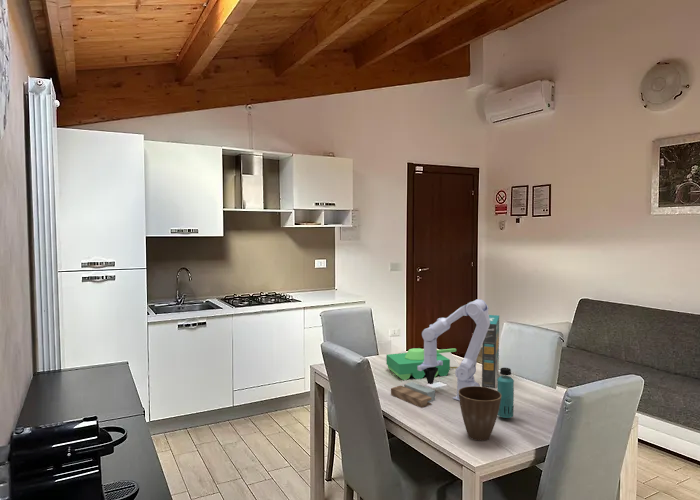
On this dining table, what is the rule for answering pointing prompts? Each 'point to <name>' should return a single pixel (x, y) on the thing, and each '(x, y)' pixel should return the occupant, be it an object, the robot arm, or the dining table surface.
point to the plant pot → (479, 410)
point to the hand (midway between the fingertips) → (430, 383)
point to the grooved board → (411, 396)
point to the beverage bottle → (506, 393)
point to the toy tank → (415, 363)
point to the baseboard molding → (451, 359)
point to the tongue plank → (421, 389)
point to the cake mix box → (491, 354)
